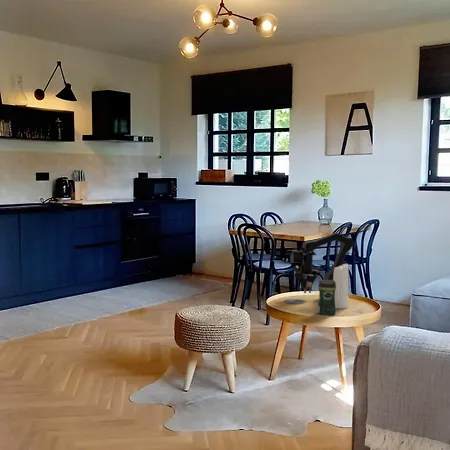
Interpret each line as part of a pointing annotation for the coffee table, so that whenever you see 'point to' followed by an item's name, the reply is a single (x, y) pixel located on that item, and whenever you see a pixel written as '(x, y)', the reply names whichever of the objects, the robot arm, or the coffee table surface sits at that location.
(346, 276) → the decorative vase
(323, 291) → the coffee jar
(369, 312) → the coffee table surface
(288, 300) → the felt mat
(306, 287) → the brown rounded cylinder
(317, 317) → the coffee table surface
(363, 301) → the coffee table surface
